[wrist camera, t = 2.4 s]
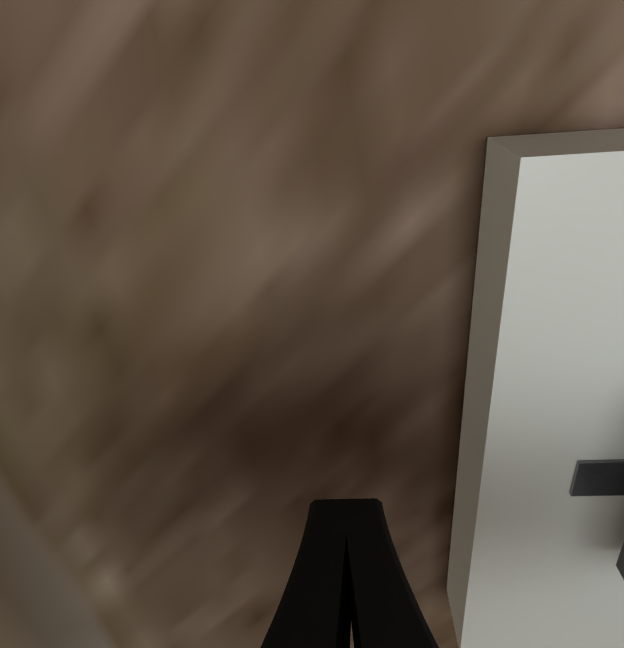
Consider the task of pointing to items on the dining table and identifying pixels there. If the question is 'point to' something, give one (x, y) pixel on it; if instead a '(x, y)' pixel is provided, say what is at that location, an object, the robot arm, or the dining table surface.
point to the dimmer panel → (544, 401)
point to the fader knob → (621, 562)
